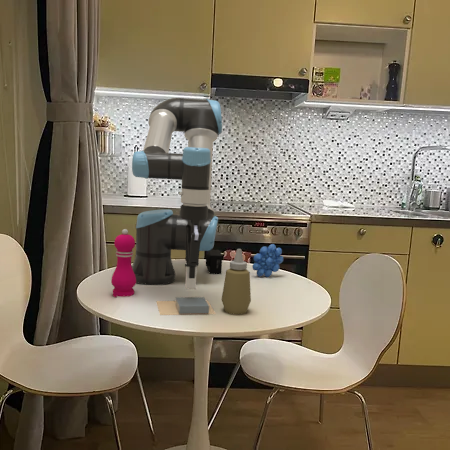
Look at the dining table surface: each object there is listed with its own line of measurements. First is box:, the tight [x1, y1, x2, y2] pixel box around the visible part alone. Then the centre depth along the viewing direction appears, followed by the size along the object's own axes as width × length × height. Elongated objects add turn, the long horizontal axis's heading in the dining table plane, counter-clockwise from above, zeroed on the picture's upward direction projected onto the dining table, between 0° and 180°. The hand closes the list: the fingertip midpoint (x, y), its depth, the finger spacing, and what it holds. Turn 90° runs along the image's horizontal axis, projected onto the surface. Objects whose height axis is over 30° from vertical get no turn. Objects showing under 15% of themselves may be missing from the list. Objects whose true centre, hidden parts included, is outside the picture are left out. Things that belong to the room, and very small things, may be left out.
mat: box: [155, 300, 216, 316], centre depth 142 cm, size 12×15×1 cm
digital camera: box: [205, 249, 223, 275], centre depth 188 cm, size 10×5×7 cm, turn 7°
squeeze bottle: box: [221, 248, 252, 315], centre depth 141 cm, size 8×8×18 cm
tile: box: [175, 296, 209, 315], centre depth 141 cm, size 2×8×8 cm
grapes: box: [252, 243, 284, 278], centre depth 184 cm, size 12×7×12 cm, turn 108°
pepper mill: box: [110, 228, 137, 298], centre depth 151 cm, size 7×7×20 cm
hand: (190, 288), depth 143 cm, fingers closed
